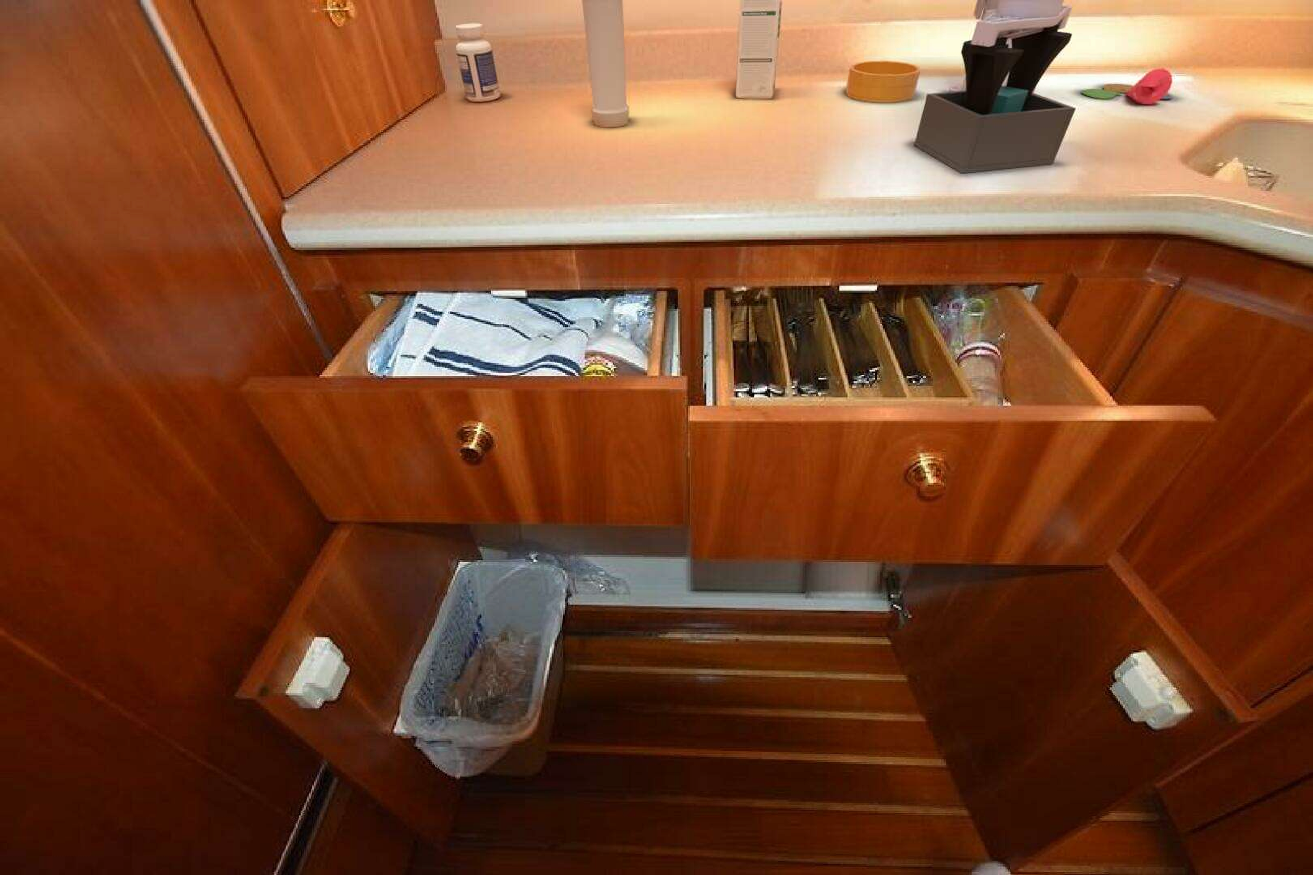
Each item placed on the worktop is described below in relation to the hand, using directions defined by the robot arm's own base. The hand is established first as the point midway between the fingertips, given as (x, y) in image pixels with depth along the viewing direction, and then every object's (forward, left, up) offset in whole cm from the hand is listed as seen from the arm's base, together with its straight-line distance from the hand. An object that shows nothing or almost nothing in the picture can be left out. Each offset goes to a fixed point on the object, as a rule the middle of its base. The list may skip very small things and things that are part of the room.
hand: (993, 113), depth 65 cm
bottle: (+40, -26, -4) cm, 48 cm away
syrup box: (+16, -35, -4) cm, 39 cm away
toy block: (0, 0, -4) cm, 4 cm away
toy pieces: (-35, -17, -4) cm, 39 cm away
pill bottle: (+58, -46, -4) cm, 74 cm away
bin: (0, 0, -4) cm, 4 cm away
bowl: (-2, -29, -4) cm, 29 cm away
